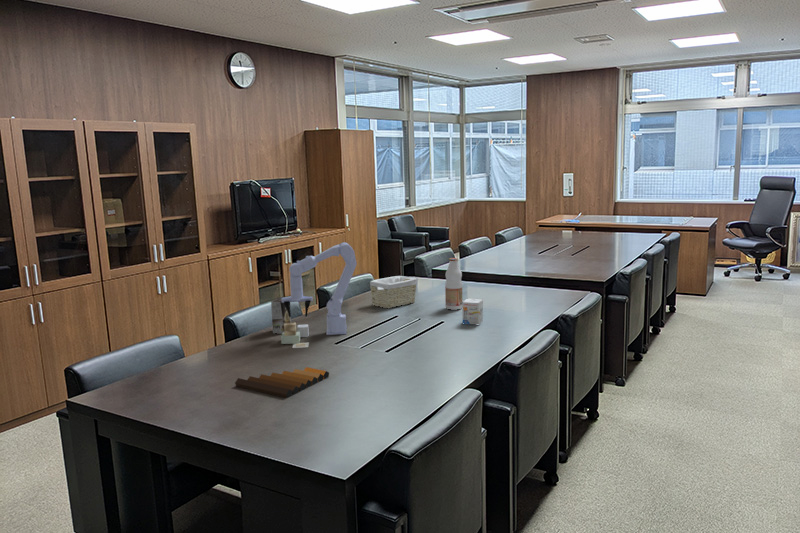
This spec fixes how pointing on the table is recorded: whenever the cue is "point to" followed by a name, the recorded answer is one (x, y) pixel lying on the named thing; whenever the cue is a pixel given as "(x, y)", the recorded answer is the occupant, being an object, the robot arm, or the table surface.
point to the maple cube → (290, 328)
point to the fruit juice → (453, 285)
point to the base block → (290, 338)
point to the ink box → (472, 311)
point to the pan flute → (284, 382)
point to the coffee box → (279, 316)
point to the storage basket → (393, 291)
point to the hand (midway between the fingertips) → (298, 316)
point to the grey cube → (303, 330)
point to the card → (300, 345)
